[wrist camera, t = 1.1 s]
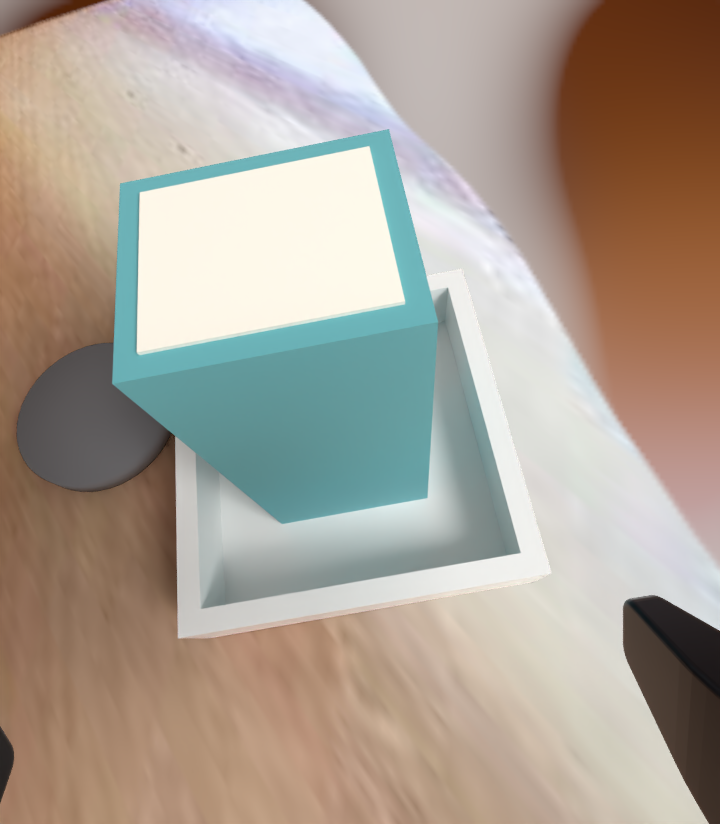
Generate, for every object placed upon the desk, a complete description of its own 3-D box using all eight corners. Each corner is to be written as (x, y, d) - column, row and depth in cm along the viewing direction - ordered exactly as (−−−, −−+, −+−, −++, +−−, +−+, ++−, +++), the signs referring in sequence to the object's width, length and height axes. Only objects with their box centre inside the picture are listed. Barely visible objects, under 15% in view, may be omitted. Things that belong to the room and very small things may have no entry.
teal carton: (427, 497, 21) (438, 319, 9) (282, 524, 21) (108, 381, 10) (404, 388, 23) (388, 125, 11) (271, 413, 24) (117, 180, 12)
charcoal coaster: (177, 476, 23) (167, 469, 22) (24, 504, 23) (8, 499, 23) (175, 341, 26) (166, 330, 25) (38, 367, 26) (25, 357, 25)
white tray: (533, 582, 20) (551, 573, 17) (210, 638, 20) (177, 638, 18) (457, 308, 25) (462, 268, 22) (199, 357, 26) (173, 324, 23)
